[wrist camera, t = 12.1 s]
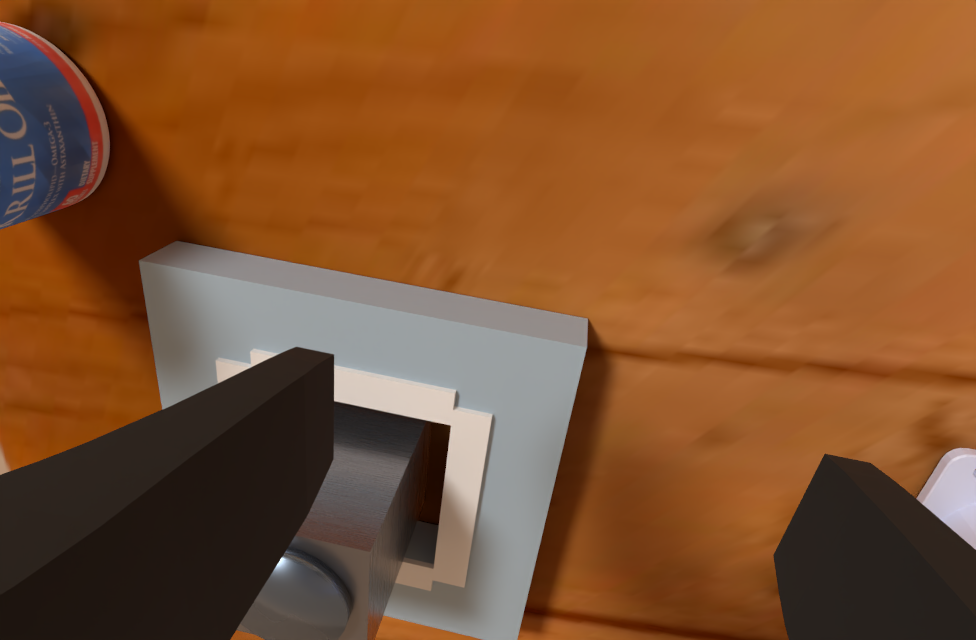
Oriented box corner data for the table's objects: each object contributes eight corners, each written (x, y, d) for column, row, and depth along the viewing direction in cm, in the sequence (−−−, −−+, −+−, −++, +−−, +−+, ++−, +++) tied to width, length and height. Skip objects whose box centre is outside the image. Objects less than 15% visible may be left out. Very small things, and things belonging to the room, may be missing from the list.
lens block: (433, 404, 21) (364, 564, 15) (425, 499, 23) (361, 674, 17) (310, 380, 21) (193, 526, 15) (313, 476, 23) (211, 638, 17)
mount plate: (588, 318, 18) (587, 350, 16) (521, 606, 24) (514, 652, 23) (176, 240, 19) (134, 262, 18) (213, 534, 26) (184, 572, 24)
